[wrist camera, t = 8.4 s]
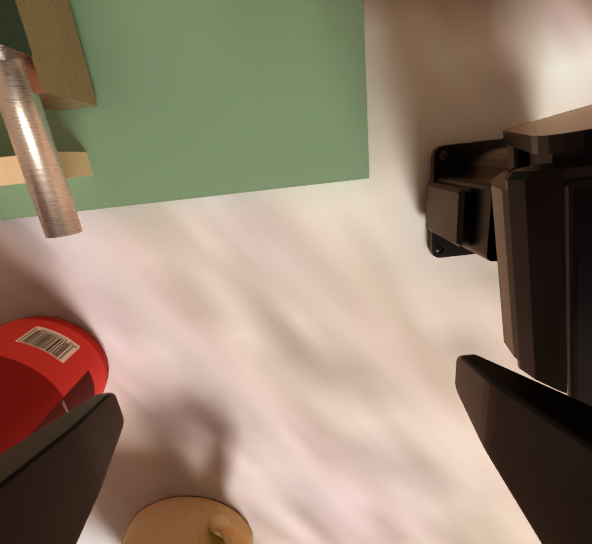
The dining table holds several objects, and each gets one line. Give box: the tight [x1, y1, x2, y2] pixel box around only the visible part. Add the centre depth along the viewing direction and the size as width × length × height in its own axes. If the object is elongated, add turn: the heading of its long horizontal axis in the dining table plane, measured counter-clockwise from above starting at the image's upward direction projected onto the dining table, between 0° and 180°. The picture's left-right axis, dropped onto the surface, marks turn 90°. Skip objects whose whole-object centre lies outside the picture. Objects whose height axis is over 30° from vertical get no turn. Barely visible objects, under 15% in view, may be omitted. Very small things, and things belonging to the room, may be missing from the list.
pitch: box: [0, 0, 369, 220], centre depth 15 cm, size 22×16×4 cm
